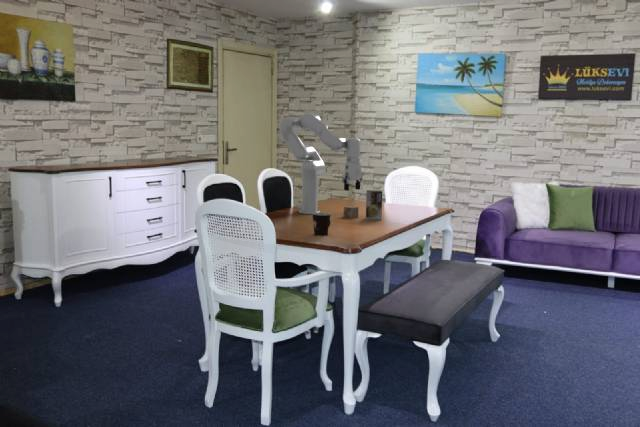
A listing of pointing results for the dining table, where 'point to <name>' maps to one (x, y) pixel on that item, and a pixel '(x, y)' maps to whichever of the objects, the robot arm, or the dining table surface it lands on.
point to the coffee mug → (321, 223)
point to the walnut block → (351, 212)
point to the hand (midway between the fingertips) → (352, 189)
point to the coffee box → (374, 204)
